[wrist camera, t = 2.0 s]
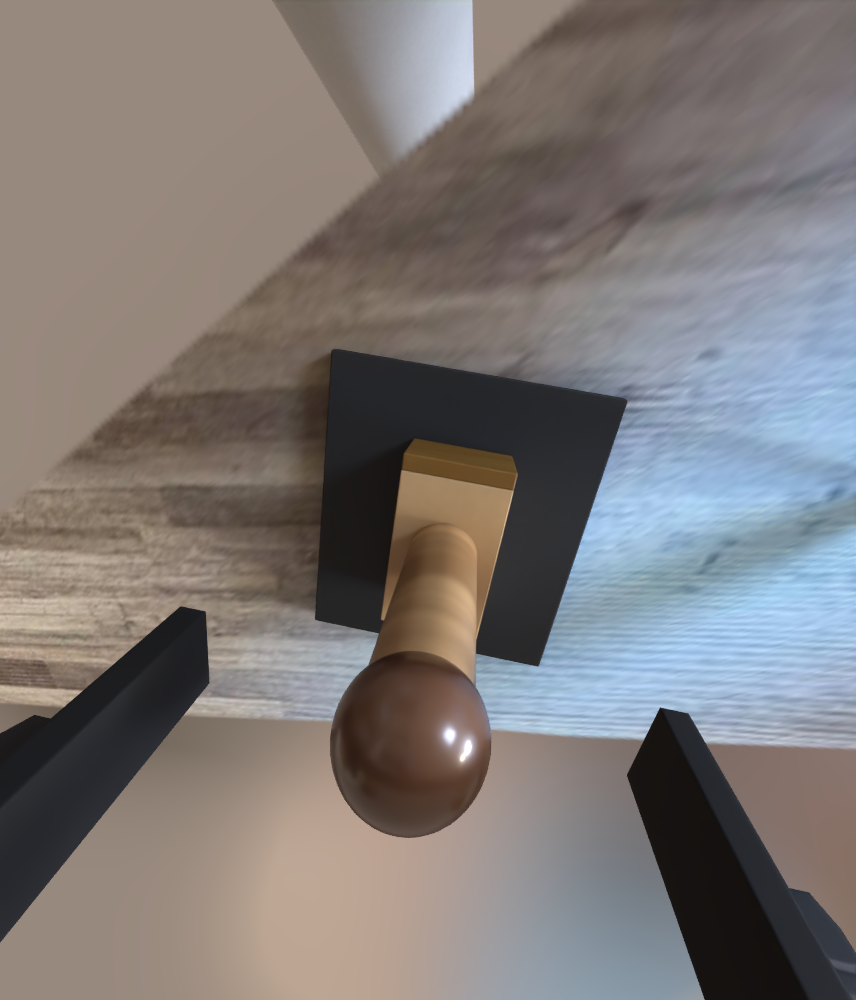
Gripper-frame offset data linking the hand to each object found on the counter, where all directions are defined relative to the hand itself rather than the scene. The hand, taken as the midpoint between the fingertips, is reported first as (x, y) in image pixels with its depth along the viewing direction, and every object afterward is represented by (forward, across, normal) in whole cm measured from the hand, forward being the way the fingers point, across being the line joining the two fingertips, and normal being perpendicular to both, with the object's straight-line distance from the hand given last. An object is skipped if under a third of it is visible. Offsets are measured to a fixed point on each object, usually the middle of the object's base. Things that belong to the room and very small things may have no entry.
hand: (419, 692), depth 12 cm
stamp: (+11, 0, 0) cm, 11 cm away
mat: (+12, 0, 0) cm, 12 cm away
